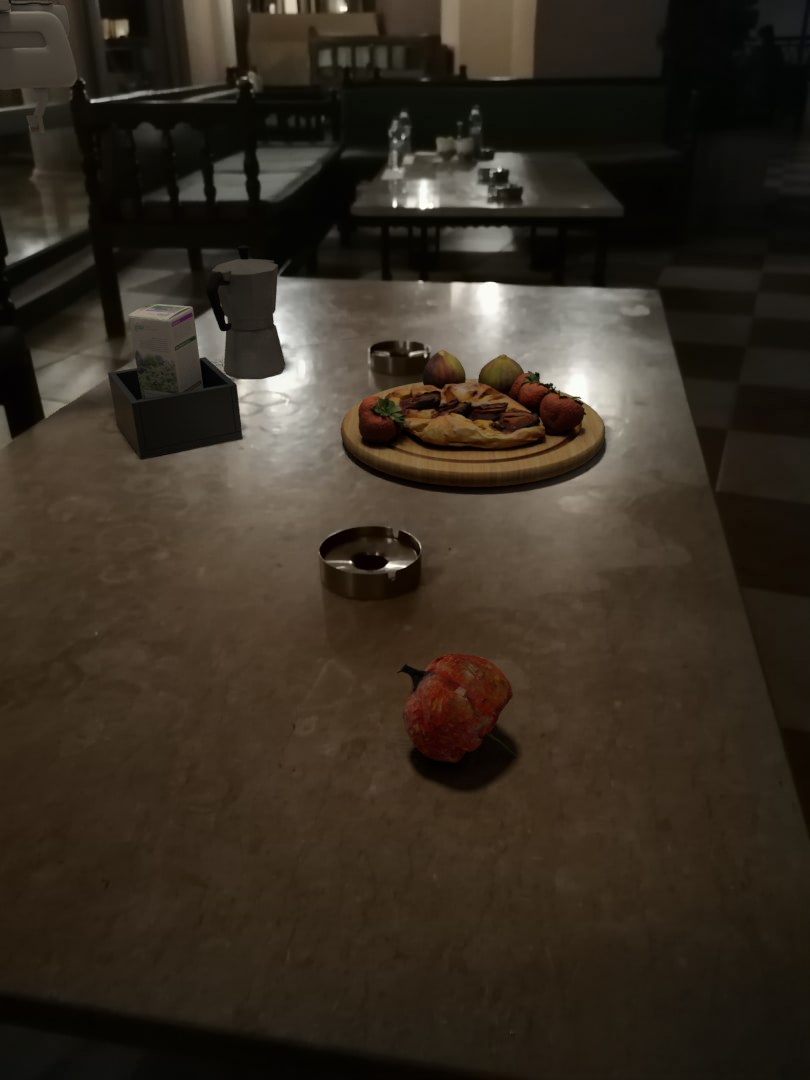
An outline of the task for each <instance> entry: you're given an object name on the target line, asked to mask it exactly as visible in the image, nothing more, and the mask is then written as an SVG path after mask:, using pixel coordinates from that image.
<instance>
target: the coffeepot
mask: <svg viewBox="0 0 810 1080" xmlns="http://www.w3.org/2000/svg"><path fill="white" fill-rule="evenodd" d="M237 251H238V255H239V258H237V259H233V260H229V261H226V262H223V263H219V264H217V265H216V266H215V267H214V268H212V269H211V274H210V275H209V277H208V280H207V283H206V285H205V294H206V297H207V300H208V301H209V305H210V306H211V309H212V310H211V311H212V313H213V315H214V318H215V321H216V324H217V326H218V329H219V330H220V332H225V341H224V342H225V343H224V345H225V346H224V362H223V373H226V374H227V375H228V374H229V375H228V376H229V377H232V376H233V377H232V378H236V379H242V380H258V379H265V378H271V377H274V376H276V375H279V374H280V373H282V372H283V371H284V370H285V366H286V359H285V356H284V353H283V348H282V344H281V340H280V336H279V333H278V329H277V328H278V327H277V325H276V324H275V320H274V314H275V312H276V308H277V307H276V306H277V294H278V293H277V292H278V291H277V290H278V276H279V275H278V274H279V264H277V263H275V260H272V259H271V260H270V259H260V258H258V259H257V258H250V257H249V253H250V246H248V245H245V244H241V245H239V246H238V247H237ZM226 320H227V322H226Z"/></svg>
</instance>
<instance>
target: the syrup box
mask: <svg viewBox="0 0 810 1080" xmlns="http://www.w3.org/2000/svg"><path fill="white" fill-rule="evenodd" d="M127 318H128V319H127V320H128V324H129V330H130V336H131V341H132V342H131V343H132V347H133V348H132V349H133V353H134V359H135V365H136V368H137V372H138V378H139V383H140V389H141V395H142V399H146V398H151V397H157V396H163V395H168V394H174V393H180V392H186V391H191V390H197V389H203V381H202V374H201V366H200V359H199V358H200V352H199V351H200V350H199V344H198V343H199V342H198V335H197V328H196V319H195V313H194V307H193V306H189V305H188V306H187V305H176V304H165V303H164V304H161V303H150V304H147V305H144V306H142V307H140V308H137V309H136V310H134V311H132V312H131V313H129V314H127Z"/></svg>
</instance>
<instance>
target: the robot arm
mask: <svg viewBox="0 0 810 1080" xmlns="http://www.w3.org/2000/svg"><path fill="white" fill-rule="evenodd" d="M53 3H55V4H53ZM70 33H71V23H70V16H69V12H68V10H67V8H66V6H65V5H64V3H63V2H61V0H0V90H13V89H14V90H16V89H31V94H32V98H33V99H35V100H37V103H36V106H35V109H34V111H33V115H32V114H31V115H30V114H29V115H26V116H25V117H26V121H27V123H28V131H29V133H30V134H44V133H45V125H44V120H43V116H44V114H45V111H46V108H47V106H48V103H49V100H50V98H49V92H48V91H49V90H48V88H71V87H73V86H74V85H75V83H76V82H77V80H78V71H77V66H76V62H75V58H74V54H73V50H72V47H71V44H70V40H69V38H68V37H69V36H70Z"/></svg>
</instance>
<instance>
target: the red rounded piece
mask: <svg viewBox="0 0 810 1080" xmlns="http://www.w3.org/2000/svg"><path fill="white" fill-rule="evenodd" d="M399 673H404V674H407V675H408V676H409V677H410V679H411V687H410V690H409V695H408V697H407V699H406V700H405V702H404V704H403V709H402V719H403V724H404V728H405V731H406V733H407V735H408V737H409V739H410V741H411V743H412V744H413V746H414V747H415V748H417V750H418V751H419V752H420V753H421V754H422V755H423V756H425V757H426V758H428V759H431V760H433V761H438V762H445V763H452V764H453V763H454V764H456V763H459V762H460V761H461V760H462V759H463V758H464V757H465V755H466V753H471V752H474V751H475V750H476V749H478V748H479V747H480V746H481V745H482V742H483V740H484V738H485V737H487V738H488V740H490V741H492V742H494V743H496V744H498V745H499V746H500V747H502V748H503V749H504V750H506V751H507V752H508V753H509V754H510V755H512V756H513V757H514V758H515V757H517V756H518V754H516V753H515V752H514V751H512V750H511V749H510V748H509V746H507V745H506V744H505V743H504V742H503V741H501V739H499V738H497V737H496V735H493V734H492V733H491V732H492V731H493V729H494V728H495V726H496V725H497V722H498V720H499V716H500V715H501V713H502V712H503V710H504V709H505V708H506V706H507V705H508V704H509V702H510V700H511V699H513V696H514V694H513V688H512V686H511V683H510V680H509V679H508V678H507V677H506V675H505V674H504V672H503V671H502V670H501V669H500V668H499V667H498V666H497V665H495V664H494V663H492V661H490V660H489V659H486V658H485V657H483V656H481V657H480V656H479V655H474V654H473V655H472V654H471V655H470V654H462V653H448V654H443V655H440V656H438V657H437V658H434V659H433V660H432V661H431V662H430V663H429V664H428V665H427V666H426V668H425V669H424V670H422V669H417V668H415V667H412V666H410V665H408V663H406V662H405V663H404V664H403V665H402V666H401V667H400V668H399V669H398V670H397V671H396V674H399Z"/></svg>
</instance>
